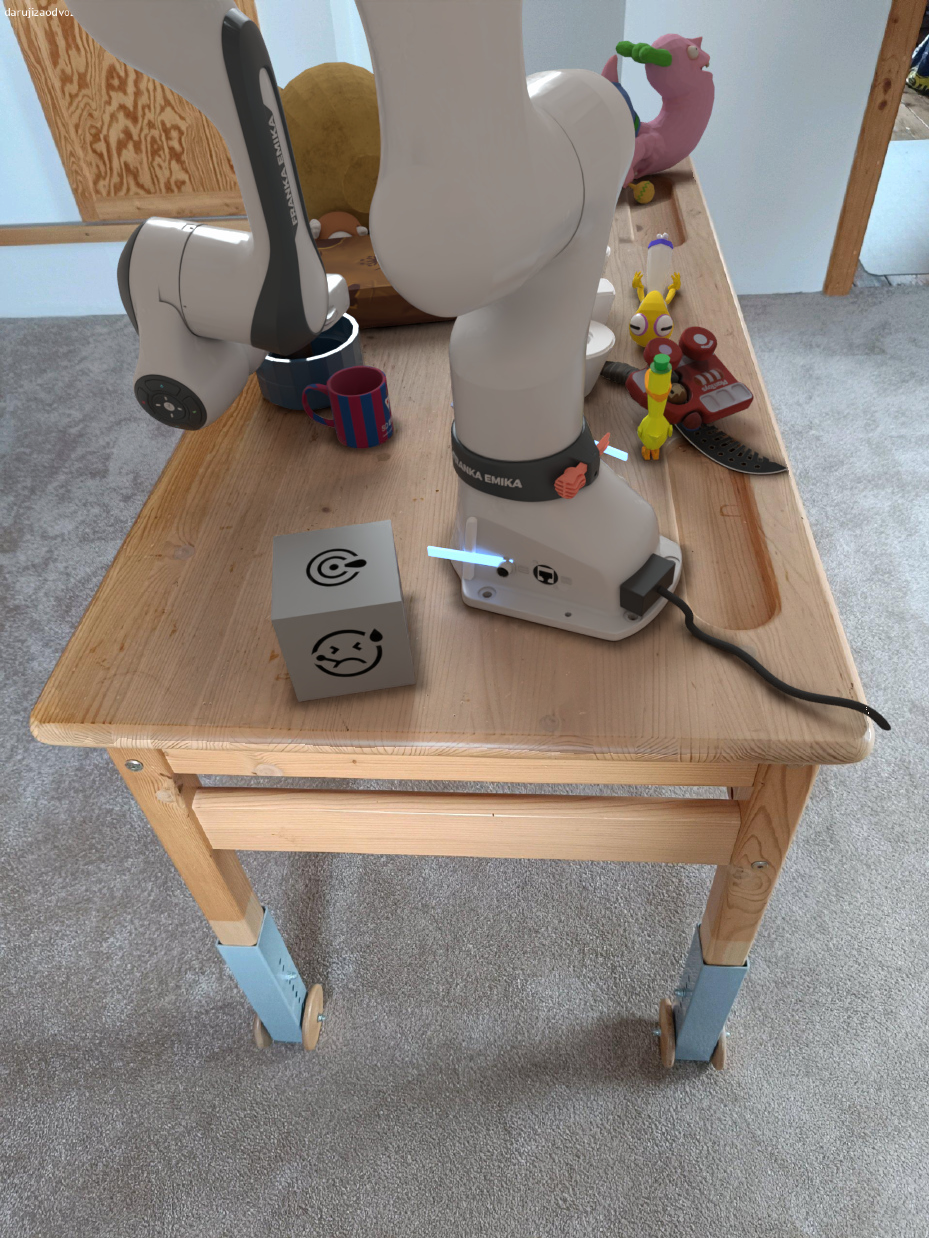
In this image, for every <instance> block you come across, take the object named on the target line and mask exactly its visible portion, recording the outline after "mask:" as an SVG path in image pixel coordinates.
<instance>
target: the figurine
mask: <svg viewBox="0 0 929 1238" xmlns="http://www.w3.org/2000/svg"><path fill="white" fill-rule="evenodd" d="M310 227H311V230H312V234H313V237H314V240H320V239H331V238H341V237H352V236H363V235H368V233H369V230H367V229H366V228H365V227H361V225H360V223H359V221H358V220H357V219H356V218H355V217H354V216H353V215H351V214H349V213H346V212H340V211H337V212H331V213H328V214H325V215H323V216H322V217H321V218H320V219H319V220H316V219H312V220H311V221H310Z"/></svg>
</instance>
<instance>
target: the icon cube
mask: <svg viewBox="0 0 929 1238" xmlns="http://www.w3.org/2000/svg"><path fill="white" fill-rule="evenodd" d="M395 542H396V541H395V536H394V530H393V524H392V519H384V520H377V521H371V522H370V521H369V522H363V523H356V524H350V525H349V524H348V525H342V526H335V527H329V528H322V529H321V528H320V529H314V530H307V531H301V532H294V533H285V534H281V535H280V534H279V535H273V536H272V561H271V562H272V567H271V569H272V570H271V604H270V605H271V607H270V608H271V610H270V622H271V624H272V627H273V630H274V633H275V636H276V640H277V642H278V646H279V648H280V651H281V654H282V657H283V661H284V662H285V666H286V669H287V672H288V676H289V678H290V681H291V684H292V687H293V690H294V693H295V695H296V699H297V702H298V703H299V702H307V701H312V700H313V701H314V700H319V699H326V698H332V697H339V696H345V695H351V694H359V693H365V692H371V691H377V690H386V689H389V688H391V689H392V688H396V687H397V688H398V687H403V686H411V685H416V677H415V669H414V663H413V662H414V661H413V654H412V647H411V639H410V631H409V625H408V619H407V610H406V609H407V608H406V602H405V596H404V590H403V584H402V578H401V572H400V567H399V561H398V554H397V549H396V543H395Z"/></svg>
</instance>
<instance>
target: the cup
mask: <svg viewBox="0 0 929 1238" xmlns="http://www.w3.org/2000/svg"><path fill="white" fill-rule="evenodd" d="M311 390H318V391H321V392H323V393H324V394H326V395H328V397H329V400H330V405H331V406H330V409H331V415H332V419H331V418H326V417H323V416H320V415H319V414H317V413H316V412H314V410H311V408H310V407H309V404H308V401H307V393H308V392H309V391H311ZM302 404H303V407H304V410H303V411H304V412H305V414H306V415H307V416H308V417H309V418H310V419H311V420H312V421H313V422H316V423H317V424H320V425H322V426H325V427H329V428H334V429H335V434H336V438H337V441H339V442H340V443H341V444H342V445H343V446H346V447H348V448H351V449H359V450H360V449H361V450H362V449H364V450H365V449H372V448H374V447H377V446H380V445H382V444H384V443H385V442H387V441H388V440H389V439H390V438H391V437H392V436H393V434H394V431H395V428H394V422H393V415H392V407H391V400H390V394H389V386H388V379H387V375H386V374H385V372H384V371H383V370H382V369H380V368H377V367H375V366H370V365H365V366H353V367H348V368H345V369H342V370H340V371H338V372H336V373H334V374H333V375H332V376H331V377H330V378H329V379H328V381H327V386H326V385H322V384H311V385H308V386H307V387H306V388H305V389H304V391H303V394H302Z"/></svg>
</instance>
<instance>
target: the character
mask: <svg viewBox="0 0 929 1238" xmlns="http://www.w3.org/2000/svg"><path fill="white" fill-rule="evenodd" d="M655 236H656V237H655V239H653V240H651V241H650V242H649V244H648V246H647V249H648V250H647V254H646V255H647V256H646V257H647V258H646V289H647V290H646V292H647V294H646V295H645V285H643V281H642V278H643V277H644V273H642V270H640V271H639V272H638V271H635V273H634V275H633V279H632V281H631V288H632V289H633V290H636V289H637V291H636V293H637V297H638V301H639V303H640V304H639V307H638V309H637V310H636V312H635V313H634V314H633V316H631V318H630V320H629V322H628V332H629V336H630V338H631V340H632V342H633V343H635V344H636V345H638V346H639V347H642V348H646V345H647V343H648V342H649V341H650V340H652V339H654V338H657V337H663V338H668V339H670V338H671V336H672V334H673V332H674V328H675V324H674V321H673V318H672V317H671V315H670V313H669V311H668V305H669V304H670V303H671V302H672V300H673V298H675V295H676V292H677V291H680V289H681V286H682V281H681V273H680V272H676V271H674V272H673V274H670V271H671V266H672V259H673V250H674V244H673V242H672V241H670V240H668V239H669V233H667V232H664V233H663V234H661V233H657V234H656V235H655ZM669 276H670V278H671V280H672V283H671V284H669V285H668V286H667V283H668V280H669ZM666 287H667V290H668V293H667V295H666V298H665V299H664V295H665V290H666Z"/></svg>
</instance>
